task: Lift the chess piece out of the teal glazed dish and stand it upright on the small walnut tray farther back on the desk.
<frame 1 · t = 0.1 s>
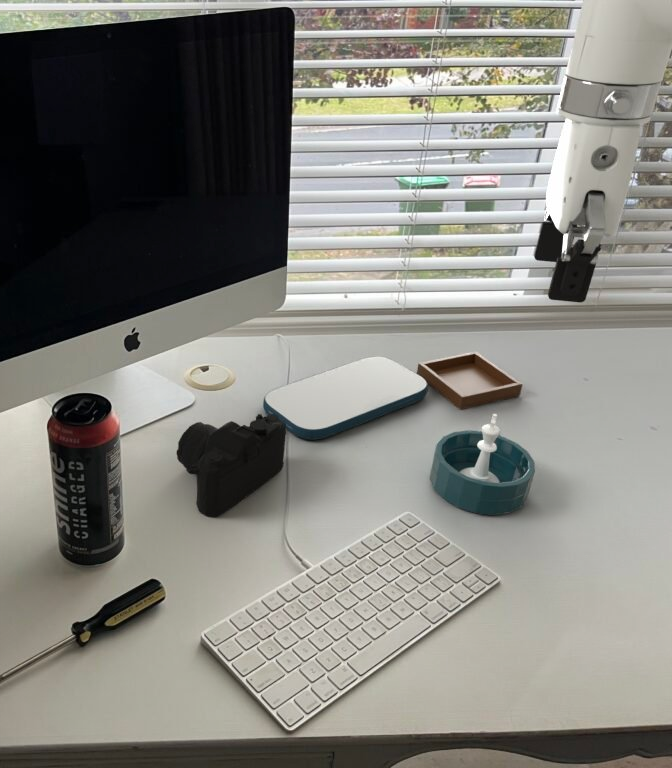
hand: (557, 279, 79), 28 cm above the table, tool pointing down, fingers open, 9 cm apart
chess piece: (477, 485, 96), resting on dish
tray: (466, 385, 116), on the table
external hard drive: (345, 403, 112), on the table
dish: (476, 486, 96), on the table
film camera: (223, 479, 98), on the table
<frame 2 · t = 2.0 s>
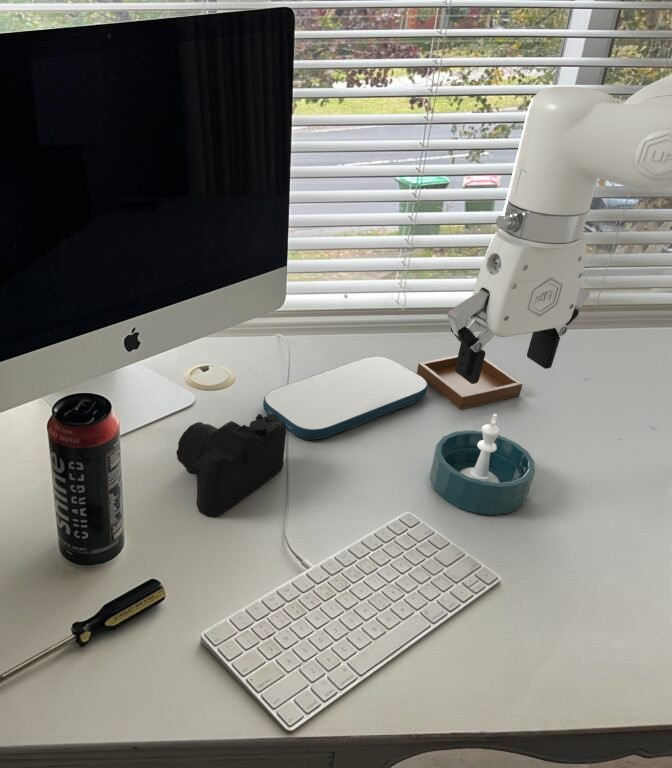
hand: (502, 370, 88), 16 cm above the table, tool pointing down, fingers open, 9 cm apart
nothing on the table moved.
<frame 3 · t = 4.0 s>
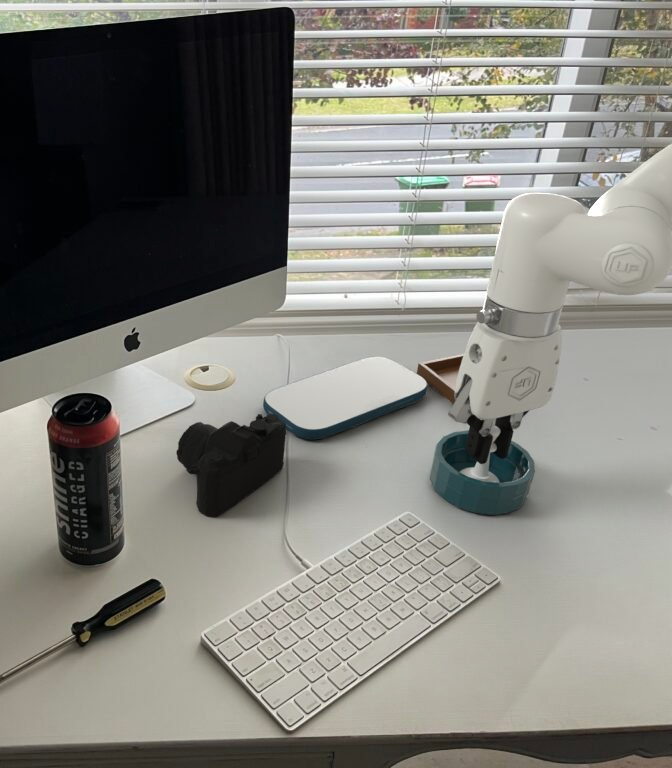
hand: (485, 453, 93), 5 cm above the table, tool pointing down, fingers closed on chess piece
chess piece: (477, 485, 96), resting on dish, touching gripper
everything else where it was.
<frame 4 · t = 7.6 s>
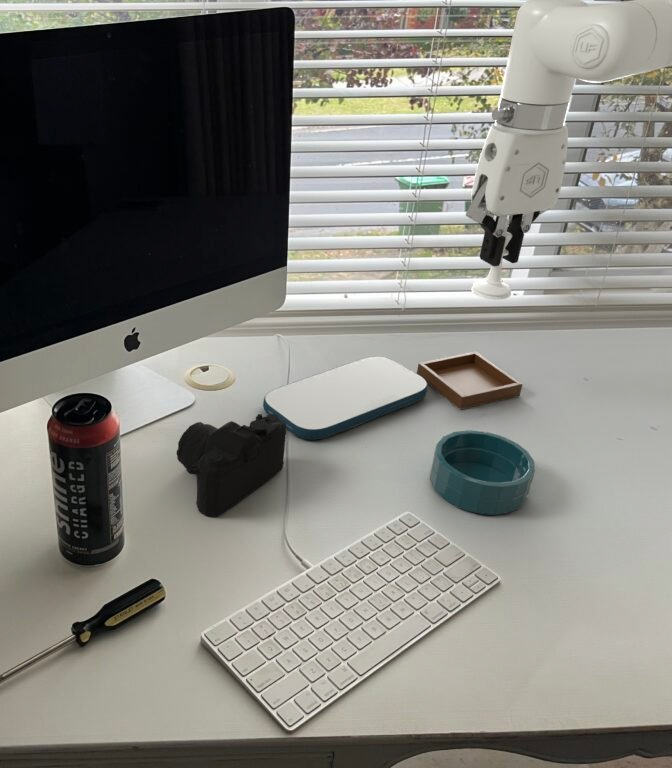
hand: (498, 259, 103), 21 cm above the table, tool pointing down, fingers closed on chess piece
chess piece: (490, 293, 106), point 16 cm above the table, touching gripper
everything else where it was.
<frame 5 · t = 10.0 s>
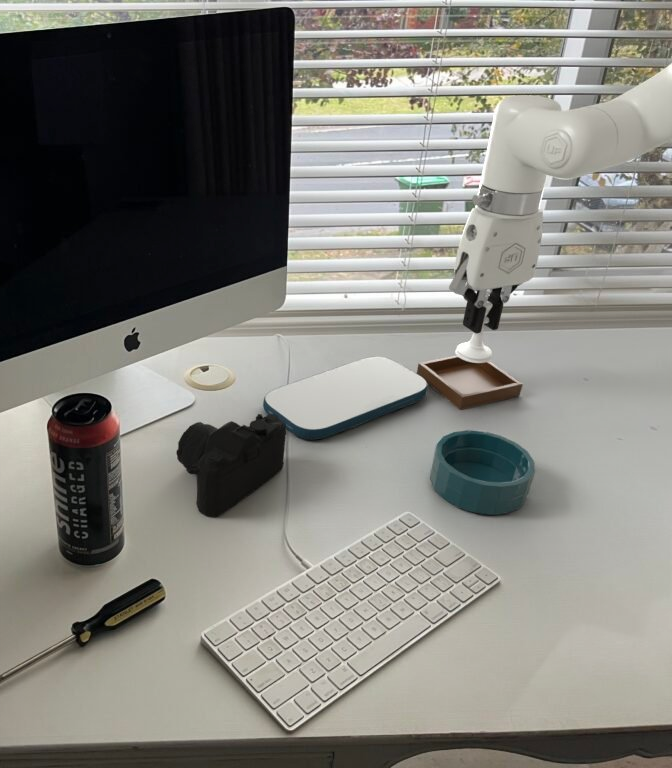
hand: (479, 326, 111), 10 cm above the table, tool pointing down, fingers closed on chess piece
chess piece: (473, 356, 114), point 5 cm above the table, touching gripper
everything else where it was.
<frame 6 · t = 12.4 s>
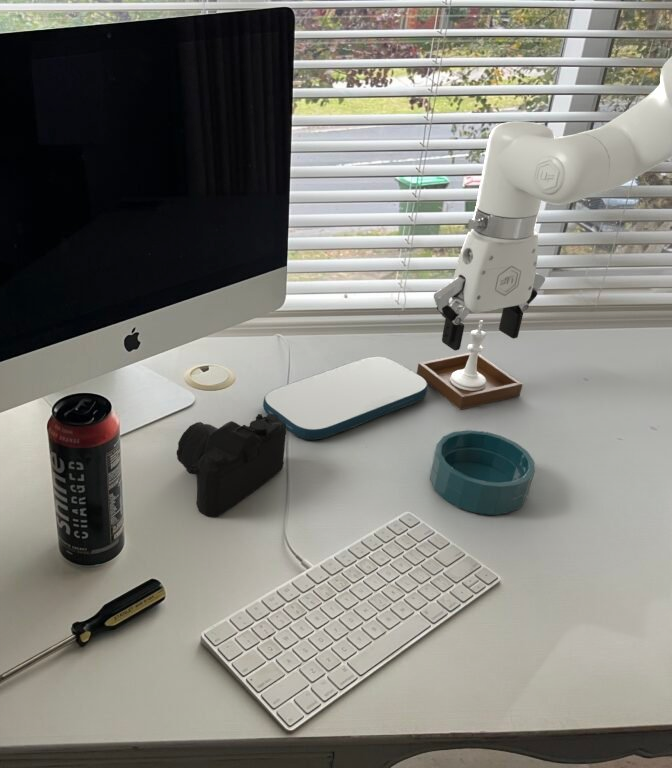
hand: (479, 340, 112), 8 cm above the table, tool pointing down, fingers open, 9 cm apart
chess piece: (467, 383, 116), resting on tray
everything else where it was.
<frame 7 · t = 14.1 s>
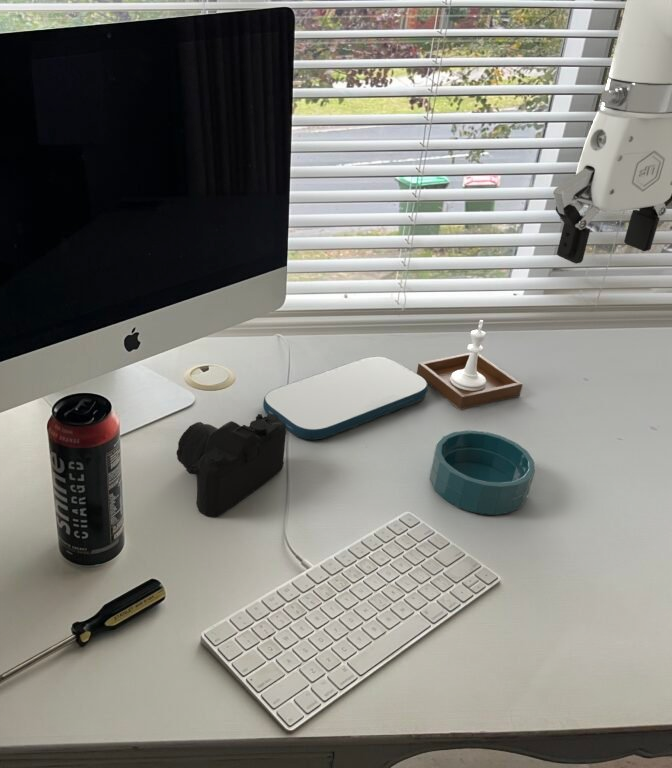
hand: (603, 253, 91), 26 cm above the table, tool pointing down, fingers open, 9 cm apart
nothing on the table moved.
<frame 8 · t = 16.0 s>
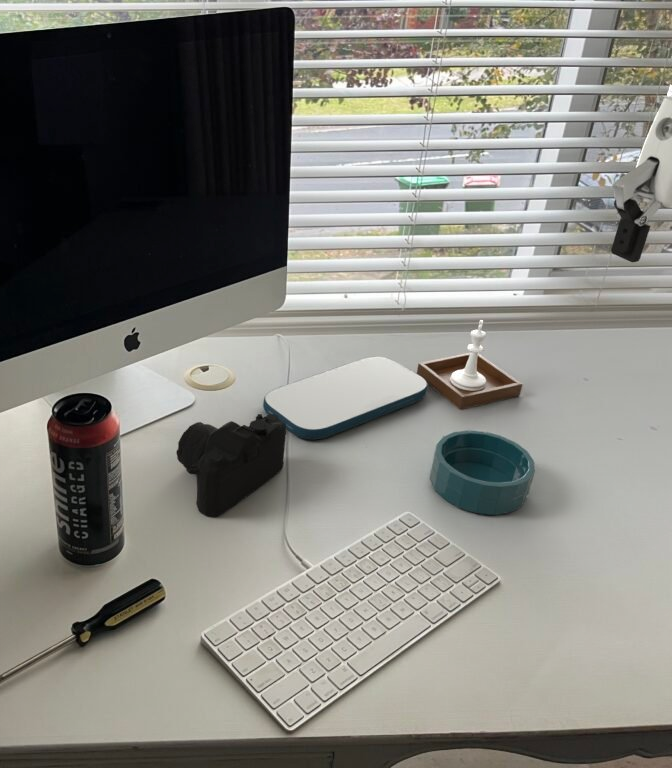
hand: (659, 251, 85), 28 cm above the table, tool pointing down, fingers open, 9 cm apart
nothing on the table moved.
at the end: chess piece 0.1 cm off-centre in the tray, point 0.3 cm above the tray's base; chess piece tilted 0° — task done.
